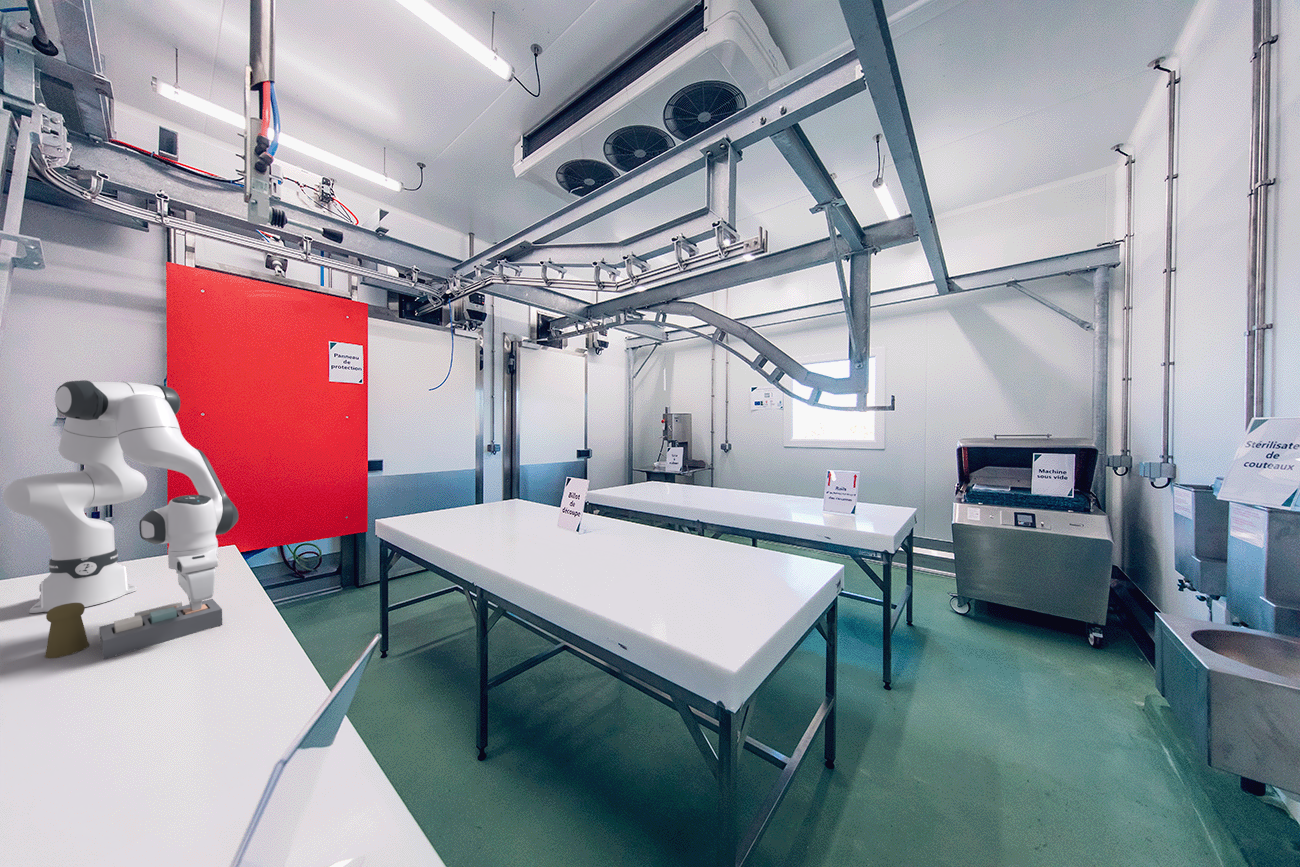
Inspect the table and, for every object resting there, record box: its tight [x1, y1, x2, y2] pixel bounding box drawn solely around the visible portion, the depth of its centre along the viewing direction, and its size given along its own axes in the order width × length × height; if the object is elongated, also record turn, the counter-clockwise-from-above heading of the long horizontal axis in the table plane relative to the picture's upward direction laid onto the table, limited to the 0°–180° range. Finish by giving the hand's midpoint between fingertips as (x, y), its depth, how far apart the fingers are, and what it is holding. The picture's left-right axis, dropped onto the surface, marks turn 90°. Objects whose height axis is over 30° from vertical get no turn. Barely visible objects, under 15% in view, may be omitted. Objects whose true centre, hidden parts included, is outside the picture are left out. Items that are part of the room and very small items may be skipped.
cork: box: [44, 603, 90, 659], centre depth 96 cm, size 6×6×11 cm
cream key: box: [113, 615, 143, 633], centre depth 99 cm, size 4×4×3 cm
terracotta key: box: [183, 604, 208, 615], centre depth 109 cm, size 4×4×3 cm
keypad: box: [98, 598, 223, 660], centre depth 105 cm, size 13×19×5 cm
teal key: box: [150, 607, 177, 624], centre depth 104 cm, size 4×4×3 cm
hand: (195, 608), depth 109 cm, fingers closed
